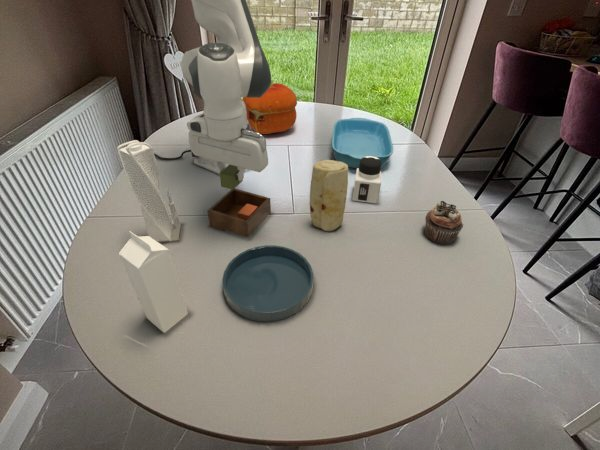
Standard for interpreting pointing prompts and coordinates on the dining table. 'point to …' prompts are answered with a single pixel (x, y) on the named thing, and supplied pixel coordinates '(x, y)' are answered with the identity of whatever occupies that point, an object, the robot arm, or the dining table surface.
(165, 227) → the skyscraper
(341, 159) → the casserole dish
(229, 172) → the green cube
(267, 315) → the bowl
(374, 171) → the container
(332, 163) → the food model
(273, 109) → the pumpkin
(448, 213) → the cupcake
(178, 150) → the dining table surface
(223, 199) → the holder
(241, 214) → the orange block
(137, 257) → the milk
